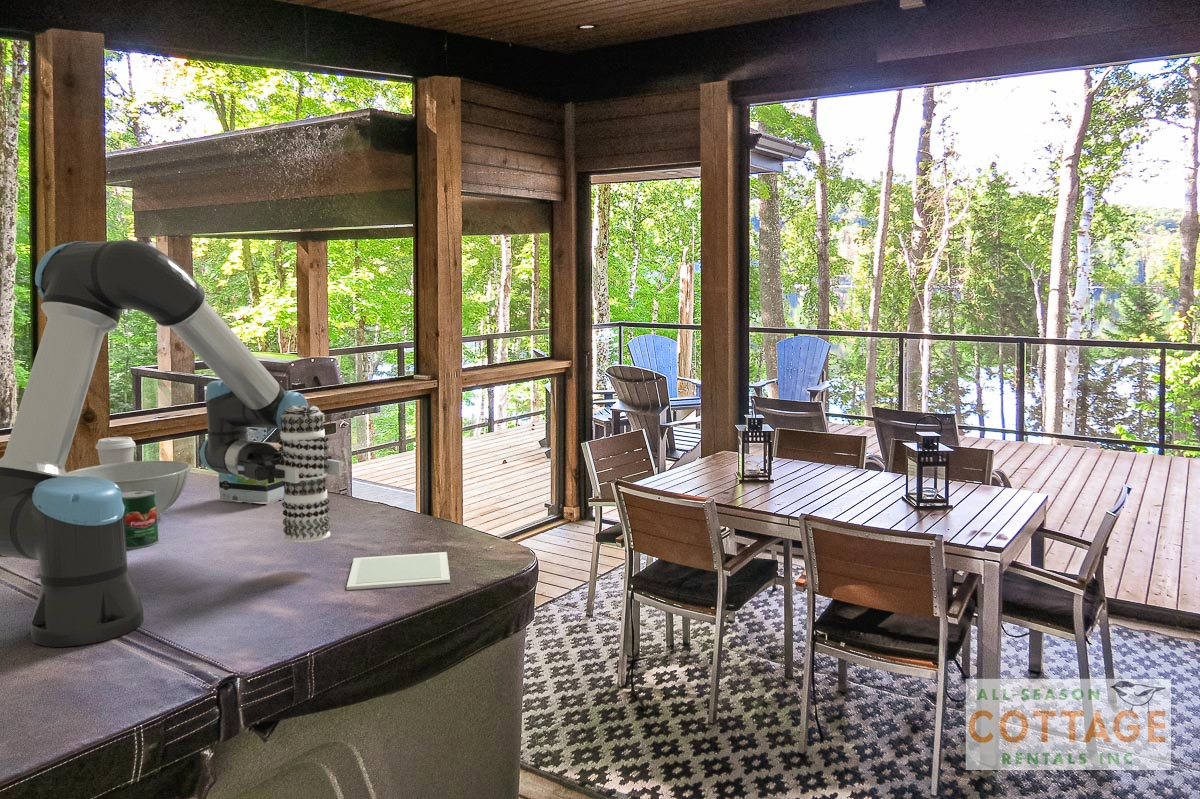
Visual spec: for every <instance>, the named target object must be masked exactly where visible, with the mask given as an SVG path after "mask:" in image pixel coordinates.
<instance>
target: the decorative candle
mask: <svg viewBox="0 0 1200 799" xmlns="http://www.w3.org/2000/svg"><path fill="white" fill-rule="evenodd" d="M324 415H325V413H324V412H322V411H321V410H320V409H319V407H318V406H317V405H312V404H310V405H309V404H308V405H298V406H290V407H287V408H286V409H285V410H284V412H283V414H282V415H279V416H280V417H281V427H282V429H281V431H280V436H278V437H277V439H276V443H278V444H280V445H282V446H281V447H280V448H279V450H278V453H280V455H281V456H280V458H279V461H280V463H282V464H284V466H290V467H295V468H299V483H291V482H286V481H284V494H283V495H284V500H283V502H282V504H281V506H282V507H283V508H284V510H283V511H282V514H283V516H284V517H285V518H283V521H282V524H283V526H284V527H283V530H282V532H283V533H284V534H285V535H284V536H283V540H284V541H286V542H287V543H298V544H299V543H300V544H303V543H312V542H313V543H314V542H319V541H323V540H326V539H328V538H330V537H331V531H330V530H331V526H332V525H331V524H330V521H331V517H330V515H329V514H328V513H329V511H330V510H331V509H330V507H329V506H328V505H329V503H330V499H329V498H328V489H327V487H326V485H327V481H326V477H328V475H329V474H328V472H326V471H325V470H326V468H328V467H329V465H328V464H327V463H324V461H326V460H327V459H328V458H329V457H328V456H329V455H327V454H326V453H325V452H326V451H327V450H329V448H330V447H329V445H328V444H326V443H327V442H328V441H329V440H330V438H329V437H328V436H326V432H325V428H324ZM325 454H326V455H325Z"/></svg>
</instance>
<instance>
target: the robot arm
mask: <svg viewBox="0 0 1200 799" xmlns="http://www.w3.org/2000/svg"><path fill="white" fill-rule="evenodd" d="M34 282H35V285H36V286H37V287H38V290H37V292H38V294H39V296H40V297H41V299H42V301H41V304H40V309H41V311H42V312H43V314H44V315H45V317H46V318H47V321H46V324H45V325H44V326H45V327H44V329H43V334H42V336H41V339H40V343H39V345H38V349H37V352H36V355H35V357H34V360H33V364H32V367H31V370H30V374H29V377H28V380H27V383H26V386H25V388H24V392H23V396H22V398H21V401H20V403H19V408H18V411H17V414H16V416H15V419H14V423H13V426H12V429H11V432H10V435H9V438H8V441H7V444H6V448H5V450H4V454H3V456H2V457H1V458H0V558H14V559H15V558H16V559H25V560H32V561H33V560H34V561H38V568H39V577H40V579H39V580H40V590H39V594H38V597H37V601H36V604H35V608H34V611H33V614H32V618H31V621H30V626H29V627H30V639H31V641H32V643H33V644H36V645H39V646H43V647H52V648H53V647H54V648H56V647H58V648H59V647H60V648H61V647H76V646H84V645H88V644H89V645H90V644H95V643H100V642H103V641H104V642H105V641H107V640H112V639H114V638H117V637H120V636H124V635H126V634H127V633H131V631H134V630H135V629H137V628H138V627H140V626H141V625H142V623H143V622H144V608H143V604H142V601H141V600H140V598H139V596H138V593H137V591H136V589H135V587H134V585H133V582H132V581H131V579H130V577H129V573H128V558H127V557H128V555H127V549H126V533H125V514H124V512H125V511H124V509H125V507H124V504H123V501H122V494H121V490H120V488H119V486H118V485H117V484H115V483H114V482H112V481H110V480H107V479H103V478H98V477H90V476H84V477H78V476H69V475H68V474H67V471H66V468H65V466H66V463H67V460H68V457H69V454H70V450H71V448H72V447H71V446H72V444H73V441H74V438H75V437H74V436H75V434H76V430H77V426H78V423H79V421H80V417H81V414H82V411H83V407H84V405H85V404H84V403H85V400H86V397H87V394H88V390H89V387H90V384H91V382H92V377H93V373H94V372H95V371H94V370H95V367H96V365H97V364H96V363H97V360H98V358H99V353H100V352H101V346H102V345H103V341H104V337H105V335H106V334H107V333H109V332H111V331H114V330H116V329H117V328H118V326H119V323H120V320H121V316H122V312H123V310H134V311H139V312H141V313H144V314H146V315H148V316H149V317H151V319H152V320H154V321H155V322H156V323H157V324H158V325H159V326H161V327H163V328H164V327H165V328H169V329H171V330H172V331H173V332H174V333H175V334H176V336H178V337H179V339H180V340H182V341H183V342H184V344H185V345H187V347H188V348H190V350H192V352H193V353H194V354H195V355H196V356H197V357H198V359H200V360H201V361H202V362H203V363H204V364H205V365H206V366H207V367H208V368H209V369H210V371H211V372H213V373H214V374H215V376H217V378H218V379H219V380H213V381H209V382H208V383H207V384H206V399H205V404H206V405H205V406H206V418H207V420H206V421H207V439H206V440H204V442H203V443H202V445H201V448H200V449H199V457H200V458H199V459H200V461H201V463H202V464H203V466H204V467H205V468H207V469H209V470H212V471H213V472H216V473H218V474H219V472H220V473H226V474H231V475H236V476H242V477H244V478H245V480H248V479H249V478H250V479H255V480H259V481H261V480H268V483H274V478H276V480H281V481H286V482H291V483H299V468H295V467H290V466H284V464H282V463H280V461H279V458H280V456H281V455H280V453H278V451H277V449H276V448H275V447H274V446H272V445H271V444H268V443H262V442H263V441H256V440H248V428H262V429H264V428H265V429H266V428H267V429H279V430H282V427H281V417H280V416H279V415H282V414H283V412H284V410H285V409H286V408H287V407H290V406H298V405H309V404H308V401H307V399H306V396H304V394H302V393H300V392H298V391H297V392H296V391H293V390H288V391H287V390H285V389H284V388H283V386H281V384H280V383H279V382H278V381H277V380H276V378H274V376H272V374H271V373H270V372H269V371H268V369H267V368H266V367H265V366H264V365H263V364H262V363H261V362H260V360H259V359H258V358H257V357H256V355H254V353H252V352H251V351H250V349H249V348H248V347H247V345H245V344H244V342H243V341H242V340H241V339H240V338H239V337H238V336H237V334H236V333H235V332H234V331H233V330H232V329H231V327H230V326H228V324H227V323H226V322H225V320H223V318H222V317H221V316H220V315H219V314H218V313H217V312H216V310H215V309H213V307H212V306H211V305H210V304H209V303H208V302H207V300H206V298H207V295H206V291H205V289H204V288H203V287H202V286H201V285H200V284H199V282H198V281H197V280H196V279H195V278H194V277H193V276H192V275H191V274H190V273H189V272H188V271H187V270H186V269H185V268H184V267H182V266H181V265H180V264H179V263H178V262H176V261H175V260H174V259H172V258H171V257H170V256H168V255H167V254H166V253H164V252H162V251H161V250H159V249H157V248H156V247H154V246H152V245H149V244H147V243H145V242H141V241H138V240H133V239H121V240H108V241H107V240H106V241H104V240H103V241H86V240H85V241H83V240H80V241H79V240H77V241H71V242H68V243H62V244H60V245H57V246H54V247H52V248H51V249H49V250H48V251H46V252H45V253H44V254H43V256H42V257H41V259H40V260H39V262H38V263H37V266H36V269H35V276H34ZM324 454H325V455H327V454H326V453H324ZM327 456H328V457H329V458H328V459H327V460H326V461H324V463H327V464H328V465H329V467H328V468H326V470H325V471H326V472H328V475H334V476H338V477H339V476H340V477H341V476H343V472H344V471H343V461H342V460H336V459H332V456H331V455H327Z"/></svg>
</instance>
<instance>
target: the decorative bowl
mask: <svg viewBox="0 0 1200 799" xmlns="http://www.w3.org/2000/svg"><path fill="white" fill-rule="evenodd" d="M66 472H67V471H66ZM190 473H191V465H190V464H189V463H187V462H182V461H176V460H175V461H174V460H139V461H138V460H137V461H135V460H133V462H122V463H112V464H104V465H100V464H98V465H93V466H87V467H82V468H78V469H74V470H71V471H68V472H67V474H68V475H69V476H78V477H84V476H90V477H98V478H103V479H107V480H110V481H112V482H114V483H115V484H117V485H118V486H119V488H120V490H121V492H123V491H129V490H138V489H151V490H155V491H156V507H157V508H156V509H157V521H158V520H160V518H161V514H163V512H165V511H167V510H168V509H169V508H171V506H172V505H174V504H175V502H176V501H177V500H178V499H179V497H180V496H181V495H182V492H183V491H184V489H185V487H186V485H187V482H188V480H189V477H190Z"/></svg>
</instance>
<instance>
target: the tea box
mask: <svg viewBox="0 0 1200 799" xmlns="http://www.w3.org/2000/svg"><path fill="white" fill-rule="evenodd" d="M261 442H262V443H268V444H271V445H272V446H274V447H275V448H276V449H277V451H278V450H279V448H280V447H281V446H282V445H280V444H278V442H270V441H269V442H268V441H267V442H266V441H261ZM218 486H219V489H218V490H219V500H220V502H231V501H240V502H239V503H242V502H270V501H273V500H276V499H280V498H283V497H284V495H283V494H284V481H281V480H276V478H274V483H268V480H261V481H259V480H255V479H250V478H249V479H248V480H245V478H244V477H242V476H236V475H231V474H226V473H220V472H219V473H218ZM241 501H242V502H241Z"/></svg>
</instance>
